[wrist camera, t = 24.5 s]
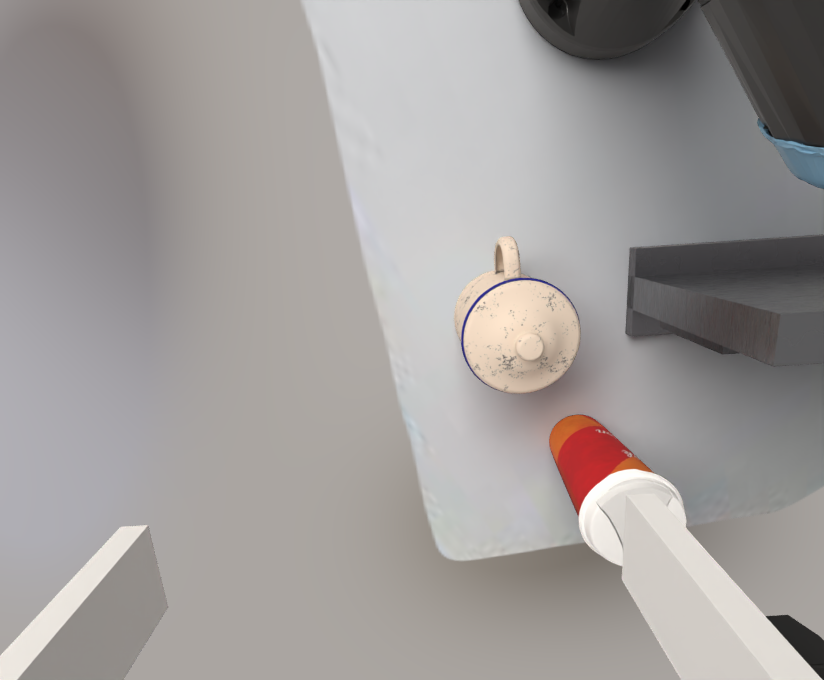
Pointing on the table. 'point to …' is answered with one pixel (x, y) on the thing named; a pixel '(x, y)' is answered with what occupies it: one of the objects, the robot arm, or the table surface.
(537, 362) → the teacup with lid
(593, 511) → the paper cup
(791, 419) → the table surface
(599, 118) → the table surface
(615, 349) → the table surface
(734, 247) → the panel
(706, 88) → the table surface
